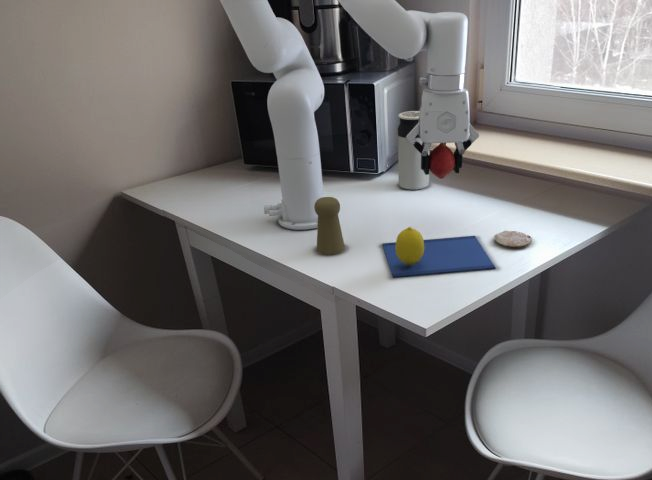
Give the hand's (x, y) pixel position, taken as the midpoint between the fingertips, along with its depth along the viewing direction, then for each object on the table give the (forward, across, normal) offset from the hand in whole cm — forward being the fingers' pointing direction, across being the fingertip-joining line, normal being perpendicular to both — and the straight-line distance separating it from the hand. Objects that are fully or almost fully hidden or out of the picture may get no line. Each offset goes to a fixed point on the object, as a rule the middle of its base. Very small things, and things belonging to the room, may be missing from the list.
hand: (441, 171), depth 134 cm
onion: (+2, 0, 0) cm, 2 cm away
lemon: (+12, -10, -21) cm, 26 cm away
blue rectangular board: (+12, -4, -17) cm, 21 cm away
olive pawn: (+13, -25, -9) cm, 30 cm away
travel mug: (+12, -1, +28) cm, 30 cm away
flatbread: (+11, +13, -13) cm, 22 cm away
